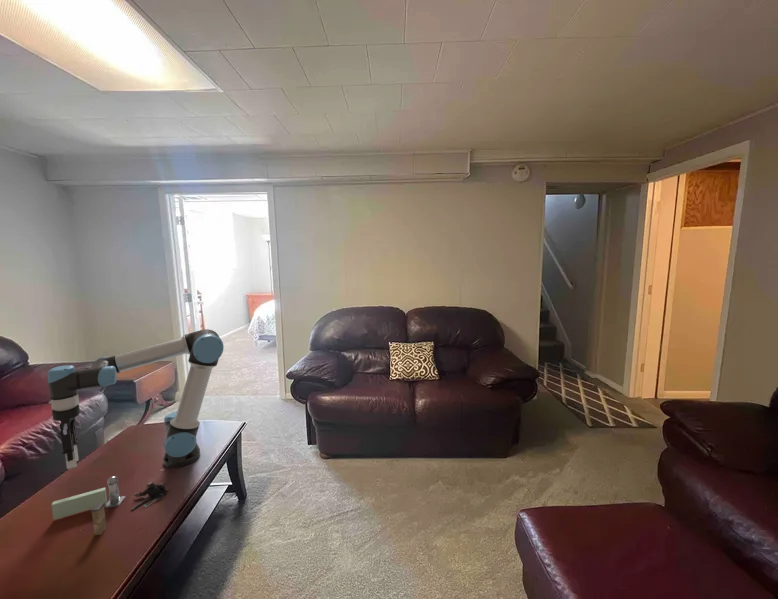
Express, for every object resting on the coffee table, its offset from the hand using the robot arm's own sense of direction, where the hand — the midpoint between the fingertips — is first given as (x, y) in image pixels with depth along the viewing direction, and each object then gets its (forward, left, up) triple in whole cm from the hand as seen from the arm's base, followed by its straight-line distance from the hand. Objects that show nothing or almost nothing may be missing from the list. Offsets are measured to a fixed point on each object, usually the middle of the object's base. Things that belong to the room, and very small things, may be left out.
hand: (72, 464), depth 132 cm
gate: (-5, +6, -16) cm, 17 cm away
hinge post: (-14, +2, -17) cm, 22 cm away
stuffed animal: (-26, +2, -17) cm, 31 cm away
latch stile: (-17, +18, -17) cm, 29 cm away
